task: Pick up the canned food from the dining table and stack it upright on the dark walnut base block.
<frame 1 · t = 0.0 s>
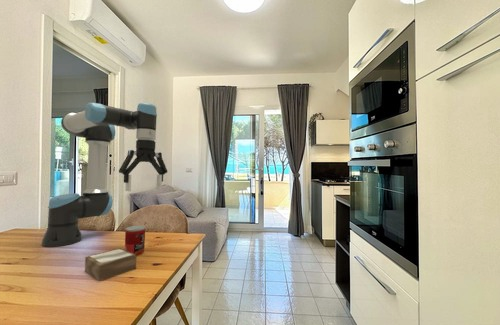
hand: (144, 190, 95), 28 cm above the table, tool pointing down, fingers open, 13 cm apart
base block: (110, 269, 82), on the table
canned food: (134, 253, 99), on the table
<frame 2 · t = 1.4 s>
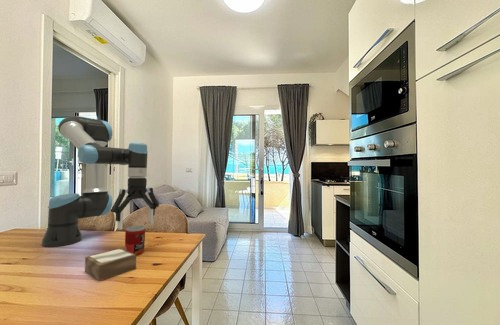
hand: (136, 225, 99), 12 cm above the table, tool pointing down, fingers open, 13 cm apart
nothing on the table moved.
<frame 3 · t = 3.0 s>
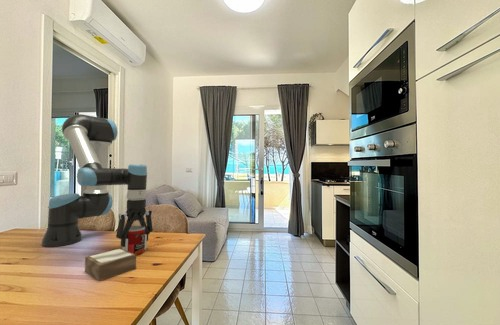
hand: (134, 251, 99), 1 cm above the table, tool pointing down, fingers closed on canned food, 8 cm apart
canned food: (134, 253, 99), on the table, touching gripper
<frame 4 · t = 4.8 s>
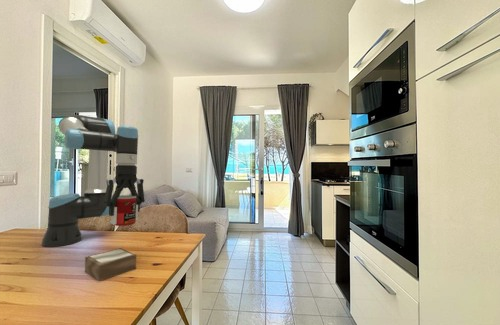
hand: (124, 222, 90), 16 cm above the table, tool pointing down, fingers closed on canned food, 8 cm apart
canned food: (124, 224, 90), point 15 cm above the table, touching gripper
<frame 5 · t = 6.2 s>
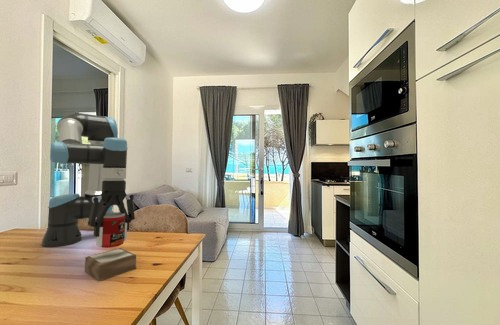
hand: (111, 242, 82), 10 cm above the table, tool pointing down, fingers closed on canned food, 8 cm apart
canned food: (111, 245, 82), point 9 cm above the table, touching gripper
when the fingers open (7 cm above the table, at t = 7.1 s): canned food drops 1 cm, resting on base block.
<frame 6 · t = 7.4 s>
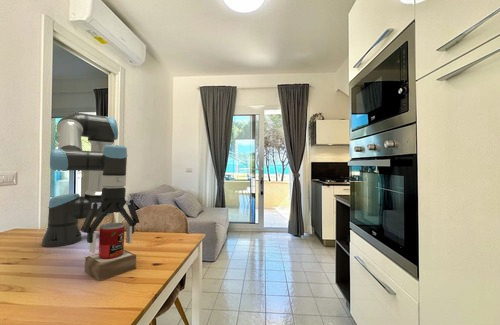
hand: (111, 247, 82), 8 cm above the table, tool pointing down, fingers open, 11 cm apart
canned food: (111, 255, 82), point 5 cm above the table, touching base block
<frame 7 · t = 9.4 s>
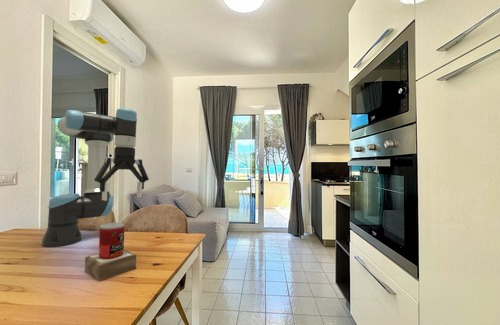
hand: (122, 198, 92), 25 cm above the table, tool pointing down, fingers open, 13 cm apart
nothing on the table moved.
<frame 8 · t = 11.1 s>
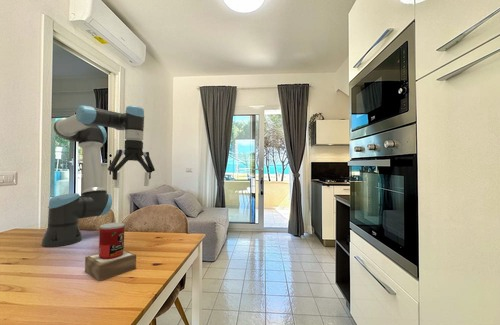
hand: (132, 186, 102), 29 cm above the table, tool pointing down, fingers open, 13 cm apart
nothing on the table moved.
at the end: canned food inside the target area on the base block (0.0 cm from its centre), point 5.0 cm above the base block's base; canned food tilted 0°; the gripper is holding nothing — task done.
